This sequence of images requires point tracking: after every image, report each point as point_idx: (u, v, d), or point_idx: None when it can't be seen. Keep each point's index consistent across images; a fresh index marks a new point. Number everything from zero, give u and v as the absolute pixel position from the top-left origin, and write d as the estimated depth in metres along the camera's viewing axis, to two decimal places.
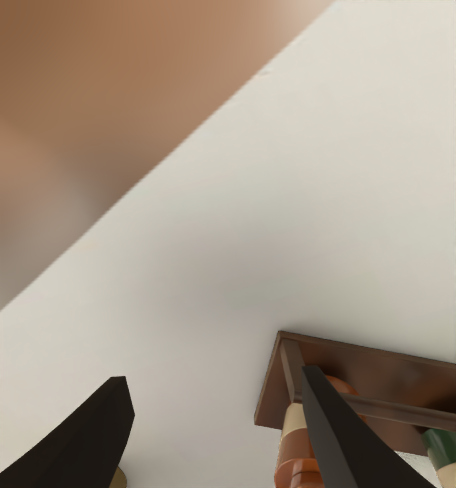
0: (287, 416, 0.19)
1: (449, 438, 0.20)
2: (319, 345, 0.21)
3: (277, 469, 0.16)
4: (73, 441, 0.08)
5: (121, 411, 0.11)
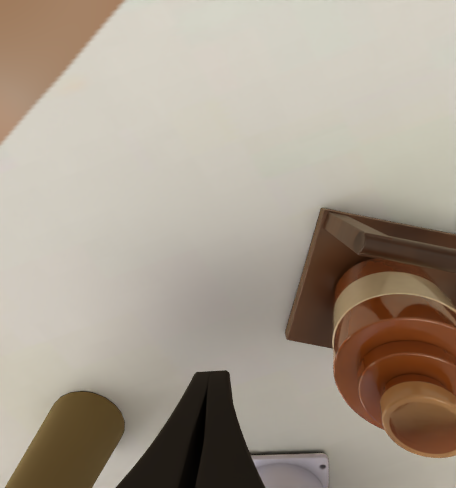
0: (341, 301, 0.14)
1: None
2: (376, 222, 0.16)
3: (340, 348, 0.11)
4: (192, 435, 0.08)
5: None
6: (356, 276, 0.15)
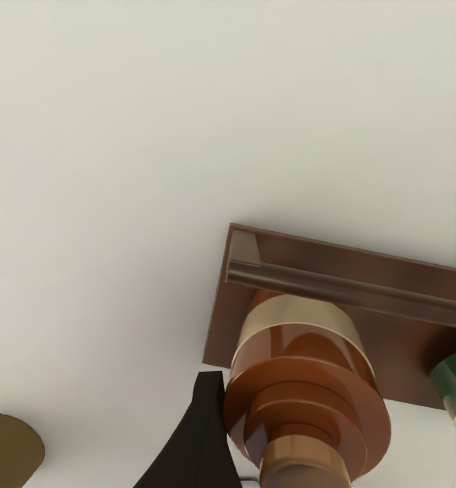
0: (242, 329, 0.13)
1: None
2: (286, 239, 0.15)
3: (226, 393, 0.10)
4: (207, 435, 0.08)
5: None
6: (261, 298, 0.14)
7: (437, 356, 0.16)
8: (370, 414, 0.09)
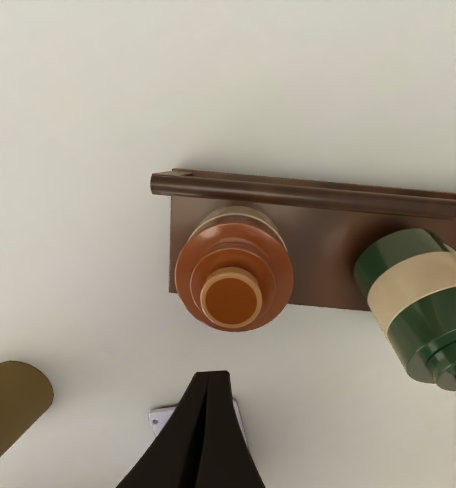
0: None
1: (375, 255, 0.16)
2: (219, 174, 0.18)
3: (175, 268, 0.13)
4: (192, 435, 0.08)
5: None
6: None
7: None
8: (276, 257, 0.12)
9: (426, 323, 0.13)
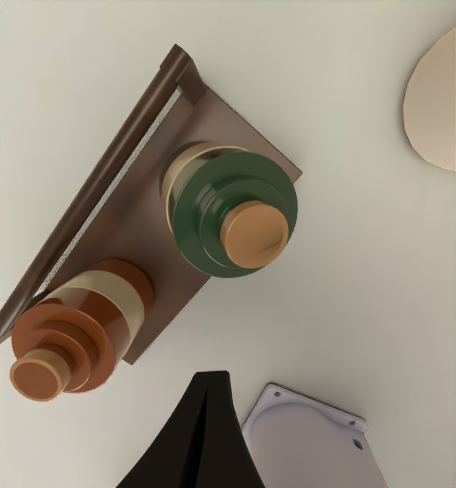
0: None
1: None
2: (58, 272, 0.21)
3: None
4: (192, 435, 0.08)
5: None
6: None
7: None
8: (56, 313, 0.14)
9: None
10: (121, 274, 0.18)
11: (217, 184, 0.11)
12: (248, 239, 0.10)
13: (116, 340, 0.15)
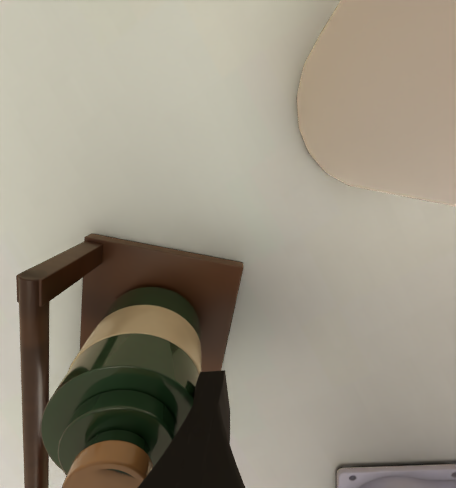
0: None
1: None
2: None
3: None
4: (210, 435, 0.08)
5: (226, 406, 0.10)
6: None
7: None
8: None
9: None
10: None
11: (70, 418, 0.09)
12: None
13: None
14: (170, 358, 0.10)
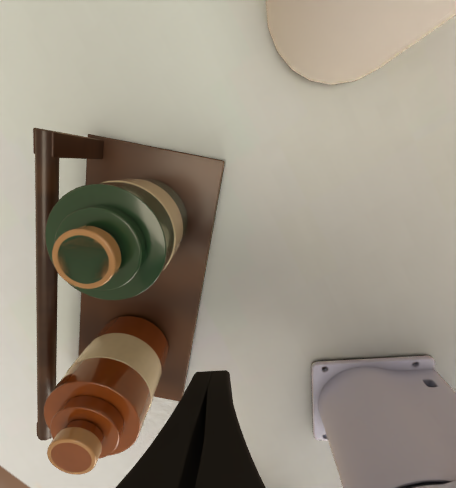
0: None
1: None
2: (80, 351, 0.23)
3: None
4: (192, 435, 0.08)
5: None
6: None
7: None
8: (68, 392, 0.15)
9: None
10: (120, 329, 0.19)
11: None
12: (75, 264, 0.11)
13: (128, 392, 0.15)
14: (144, 195, 0.13)
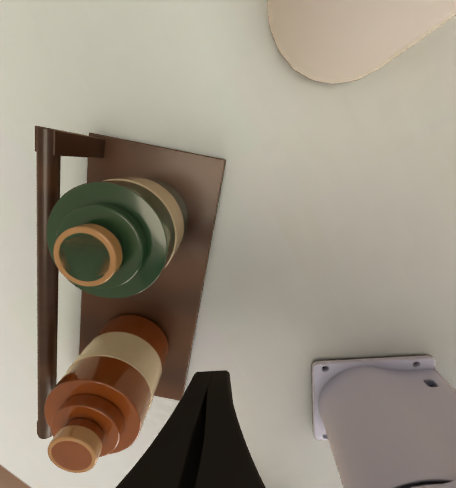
0: None
1: None
2: (80, 350, 0.23)
3: None
4: (192, 435, 0.08)
5: None
6: None
7: None
8: (68, 390, 0.15)
9: None
10: (121, 328, 0.19)
11: None
12: (76, 261, 0.11)
13: (128, 390, 0.15)
14: (145, 193, 0.13)
